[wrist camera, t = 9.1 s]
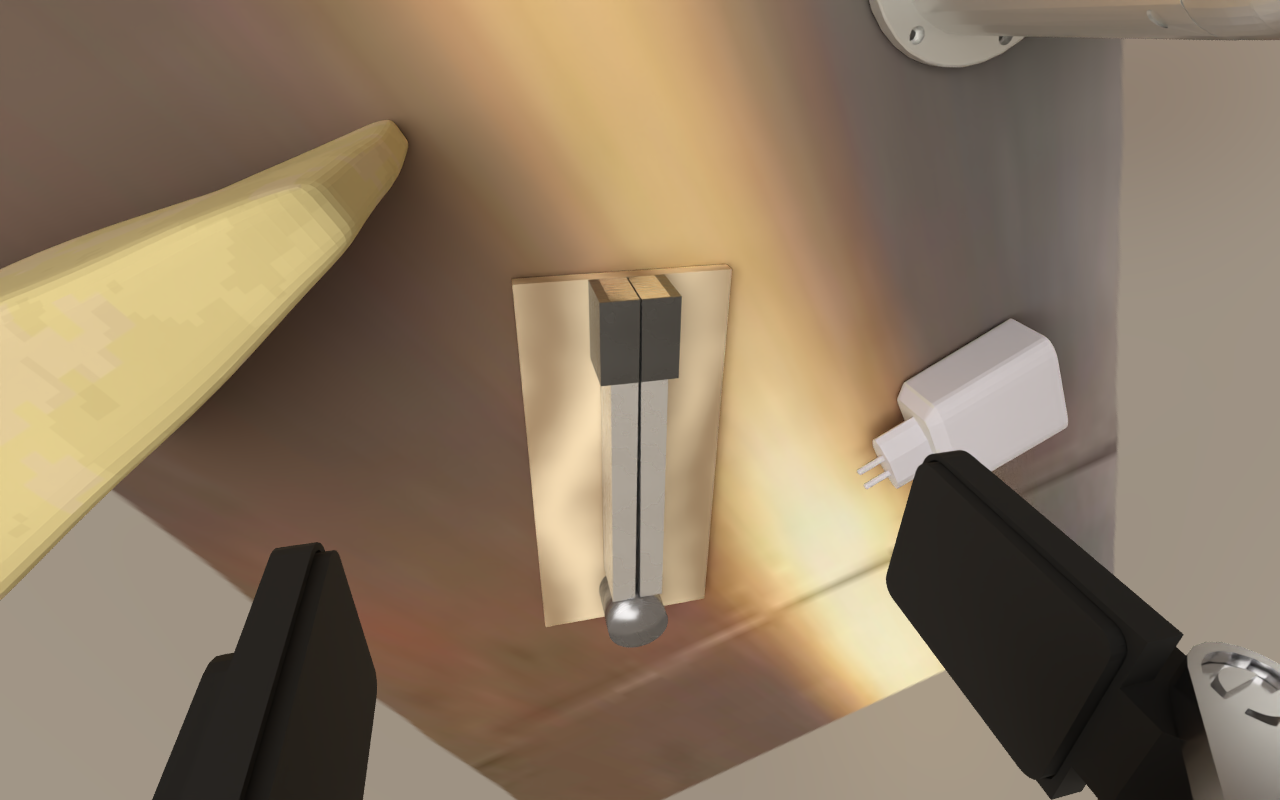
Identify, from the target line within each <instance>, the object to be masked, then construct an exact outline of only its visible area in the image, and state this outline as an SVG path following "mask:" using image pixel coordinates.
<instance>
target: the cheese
mask: <svg viewBox="0 0 1280 800" xmlns="http://www.w3.org/2000/svg"><path fill="white" fill-rule="evenodd" d="M407 149H408V142H407V140H406V138H405V137H404V135H403V134H402V132H401V131H400V130H399V128H398V127H397V126H396V124H395V123H394V122H392V121H390V120H382V121H378V122H375V123H372V124H370V125H367V126H365V127H362V128H360V129H358V130H355V131H353V132H351V133H349V134H346V135H344V136H342V137H340V138H338V139H335V140H333V141H331V142H328V143H326V144H324V145H322V146H319V147H317V148H315V149H313V150H310V151H308V152H306V153H303V154H301V155H299V156H297V157H294V158H292V159H290V160H287V161H285V162H283V163H280V164H278V165H276V166H273V167H271V168H269V169H266V170H264V171H262V172H259V173H257V174H255V175H252V176H250V177H248V178H246V179H243V180H241V181H239V182H236V183H234V184H232V185H230V186H227V187H225V188H223V189H220V190H218V191H215V192H212V193H210V194H207V195H204V196H200V197H197V198H194V199H191V200H188V201H184V202H181V203H178V204H175V205H172V206H169V207H166V208H163V209H160V210H157V211H154V212H151V213H148V214H145V215H141V216H138V217H135V218H132V219H129V220H126V221H123V222H120V223H117V224H114V225H111V226H108V227H105V228H102V229H100V230H97V231H94V232H91V233H88V234H86V235H83V236H80V237H77V238H75V239H72V240H69V241H67V242H64V243H62V244H59V245H56V246H54V247H51V248H49V249H46V250H44V251H42V252H39V253H37V254H34V255H32V256H30V257H27V258H25V259H23V260H20V261H18V262H16V263H13V264H11V265H9V266H7V267H5V268H2V269H0V600H1V599H2V598H4V597H5V596H6V595H7V594H8V593H9V592H10V591H11V590H12V589H13V588H14V587H15V586H16V585H17V584H18V583H19V582H20V581H21V580H22V579H23V578H24V577H25V576H26V575H27V574H28V573H29V572H30V570H32V568H34V566H35V565H37V563H38V562H39V561H40V560H41V559H42V558H43V557H44V556H45V555H46V554H47V553H48V552H49V551H50V550H51V549H52V548H53V547H54V546H55V545H56V544H57V543H58V542H59V541H60V540H61V539H62V538H63V537H64V536H65V535H66V534H67V533H68V532H69V531H70V530H71V529H72V528H73V527H74V526H75V525H76V524H77V523H78V522H79V521H80V520H81V519H82V518H83V517H84V516H85V515H86V514H87V513H88V512H89V511H90V510H91V509H92V508H93V507H94V506H95V505H96V504H97V503H98V502H99V501H100V500H102V499H103V498H104V497H105V496H106V495H107V494H108V493H109V492H110V491H111V490H112V489H113V488H114V487H115V486H116V485H117V484H118V483H119V482H120V481H122V480H123V479H124V478H125V477H126V476H127V475H128V474H129V473H130V472H131V471H132V470H133V469H134V468H136V467H137V466H138V465H139V464H140V463H141V462H142V461H143V460H144V459H145V458H146V457H147V456H149V455H150V454H151V453H152V452H153V451H154V450H155V449H156V448H157V447H158V446H159V445H161V444H162V443H163V442H164V441H165V440H166V439H167V438H168V437H169V436H170V435H171V434H173V433H174V432H175V431H176V430H177V429H178V428H179V427H180V426H181V425H182V424H183V423H184V422H185V421H186V420H188V419H189V418H190V417H191V416H192V415H193V414H194V413H195V412H196V411H197V410H198V409H199V408H200V407H201V406H202V405H203V404H204V403H205V402H206V401H207V400H208V399H209V398H210V397H211V396H212V395H213V394H214V393H215V392H216V391H217V390H218V389H219V388H220V387H221V386H222V385H223V384H224V383H225V382H226V381H227V380H228V379H229V378H230V377H231V376H232V375H233V374H234V373H235V372H236V371H237V369H238V368H239V367H240V366H241V365H242V364H243V363H244V362H245V361H246V360H247V359H248V358H249V357H250V355H251V354H252V353H253V352H254V351H255V350H256V349H257V348H258V347H259V346H260V344H261V343H262V342H263V341H264V340H265V339H266V338H267V337H268V336H269V334H270V333H271V332H272V331H273V330H274V329H275V328H276V327H277V325H278V324H279V323H280V322H281V321H282V320H283V319H284V318H285V317H286V315H287V314H288V313H289V312H290V311H291V310H292V309H293V308H294V307H295V306H296V304H297V303H298V302H299V301H300V300H301V299H302V298H303V297H304V296H305V295H306V293H307V292H308V291H309V290H310V289H311V288H312V287H313V286H314V285H315V284H316V283H317V282H318V281H319V280H320V278H321V277H322V276H323V275H324V274H325V273H326V272H327V271H328V270H329V269H330V268H331V267H332V266H333V265H334V263H335V262H336V261H337V260H338V259H339V258H340V257H341V256H342V254H343V253H344V252H345V251H346V249H347V248H348V247H349V246H350V244H351V243H352V242H353V240H354V239H355V237H356V235H357V234H358V232H359V231H360V229H361V228H362V226H363V224H364V223H365V221H366V220H367V218H368V217H369V216H370V214H371V213H372V211H373V210H374V208H375V207H376V206H377V204H378V203H379V202H380V201H381V199H382V198H383V197H384V195H385V194H386V193H387V192H388V190H389V189H390V188H391V186H392V185H393V183H394V181H395V180H396V178H397V177H398V175H399V173H400V171H401V168H402V166H403V163H404V160H405V156H406V153H407Z"/></svg>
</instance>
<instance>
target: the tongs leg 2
mask: <svg viewBox="0 0 1280 800" xmlns="http://www.w3.org/2000/svg"><path fill="white" fill-rule="evenodd" d="M628 281H629V283H630V285H631V286H632V288H633V289H634V291H635V292H636V294H637V296H638V297H639V299H640V347H639V383H638V446H637V509H636V573H635V582H636V585H637V589H638V592H639V595H640V597H645V596H651V595H656V594H662V573H663V539H664V505H665V471H666V437H667V403H668V379H676V378H679V358H680V332H681V306H682V296H681V295H680V293H679V292H678V291H677V290H676V288H675V287H674V286H673V285H672V283H671V282H670V281H669V280H668V278H667V277H666V276H665V275H664V274H663V275H650V276H637V277H628Z"/></svg>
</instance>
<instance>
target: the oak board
mask: <svg viewBox="0 0 1280 800" xmlns="http://www.w3.org/2000/svg"><path fill="white" fill-rule="evenodd" d="M663 274H664V275H665V276H666V277H667V278H668V280H669V281H670V282H671V283H672V285H673V286H674V287H675V288H676V290H677V291H678V292H679V293H680V295H681V296H682V306H681V332H680V358H679V378H676V379H668V403H667V437H666V471H665V505H664V539H663V573H662V594H660V596H661V599H662V602H663V605H664V606H665V605H670V604H676V603H682V602H687V601H693V600H698V599H704V595H705V583H706V571H707V559H708V547H709V536H710V524H711V512H712V500H713V489H714V477H715V465H716V453H717V441H718V430H719V418H720V406H721V394H722V383H723V371H724V359H725V347H726V335H727V324H728V312H729V300H730V288H731V277H732V269H731V268H730V267H729V266H728V265H727V264H719V265H704V266H690V267H675V268H661V269H646V270H632V271H617V272H603V273H589V274H574V275H560V276H545V277H531V278H516V279H511V280H512V291H513V301H514V311H515V322H516V332H517V342H518V352H519V363H520V373H521V383H522V393H523V404H524V414H525V424H526V435H527V445H528V455H529V465H530V476H531V486H532V496H533V507H534V517H535V527H536V537H537V548H538V558H539V568H540V578H541V589H542V599H543V609H544V619H545V626H546V627H549V626H554V625H560V624H565V623H571V622H577V621H582V620H588V619H593V618H599V617H604V616H605V615H604V611H603V606H602V602H601V598H600V594H599V586H600V583H601V581H602V579H603V578H604V577H605V576H606V573H605V569H604V546H603V492H602V438H601V385H600V383H599V380H598V377H597V375H596V372H595V369H594V367H593V364H592V361H591V359H590V328H589V291H588V280H593V279H608V278H623V277H626V278H627V280H628V277H637V276H650V275H663Z"/></svg>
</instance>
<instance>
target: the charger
mask: <svg viewBox="0 0 1280 800" xmlns="http://www.w3.org/2000/svg"><path fill="white" fill-rule="evenodd" d="M897 402H898V405H899V407H900V410H901V413H902V415H903V418H904V421H903V422H902V423H900V424H898V425H897V426H895V427H893V428H892V429H890V430H888V431H887V432H885V433H883V434H882V435H880V436H878V437H877V438H875V439H873V448H874V450H875V452H876V455H877V457H878V458H876V459H874V460H873V461H871V462H869V463H868V464H866V465H864V466H862V467H861V468H859V469H858V470H857V472H858V474H859V475H862V474H863V473H865V472H867V471H868V470H870V469H872V468H873V467H875V466H877V465H878V464H881V466H882V468H883V469H884V471H885V472H883V473H881V474H880V475H878V476H876V477H875V478H873V479H871V480H870V481H868V482H866V483H864V487H865V488H866V489H868V488H870V487H872V486H873V485H875V484H877V483H879V482H880V481H882V480H884V479H885V478H887V477H888V478H889V480H890V481H891V483H892V484H893V485H894V487H895V488H897V489H898V488H899V487H901V486H903V485H904V484H906V483H908V482H910V481H911V480H913V479H914V476H915V472H916V470H917V467H918V466H919V465H921V464H923V461H924V459H925V458H926V457H927V456H928V455H931V454H935V453H942V452H949V451H956V450H963V451H966V452H968V453H970V454H971V455H972V456H973V457H975V458H976V459H977V460H978V461H979V462H980V463H982V464H983V465H984V466H985V467H986V468H988V469H989V470H990V471H993V470H995V469H996V468H998V467H1000V466H1002V465H1003V464H1005V463H1007V462H1008V461H1010V460H1012V459H1014V458H1015V457H1017V456H1019V455H1020V454H1022V453H1024V452H1026V451H1027V450H1029V449H1031V448H1032V447H1034V446H1036V445H1038V444H1039V443H1041V442H1043V441H1044V440H1046V439H1048V438H1050V437H1051V436H1053V435H1055V434H1056V433H1058V432H1060V431H1062V430H1063V429H1065V428H1066V427H1067V426H1068V416H1067V410H1066V404H1065V399H1064V393H1063V387H1062V381H1061V375H1060V369H1059V363H1058V358H1057V354H1056V352H1055V349H1054V347H1053V345H1052V343H1051V342H1050V341H1049V339H1048V338H1046V337H1045V336H1043V335H1042V334H1040V333H1038V332H1036V331H1034V330H1032V329H1030V328H1028V327H1027V326H1025V325H1023V324H1021V323H1019V322H1017V321H1015V320H1014V319H1009V320H1007V321H1005V322H1004V323H1002V324H1000V325H999V326H997V327H995V328H994V329H992V330H990V331H989V332H987V333H985V334H984V335H982V336H980V337H979V338H977V339H975V340H974V341H972V342H970V343H969V344H967V345H965V346H964V347H962V348H960V349H959V350H957V351H955V352H954V353H952V354H950V355H949V356H947V357H945V358H944V359H942V360H940V361H939V362H937V363H936V364H934V365H932V366H931V367H929V368H927V369H926V370H924V371H922V372H921V373H919V374H917V375H916V376H914V377H912V378H911V379H909V380H907V381H906V382H904V383H903V385H902V388H901V391H900V393H899V396H898V398H897Z"/></svg>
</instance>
